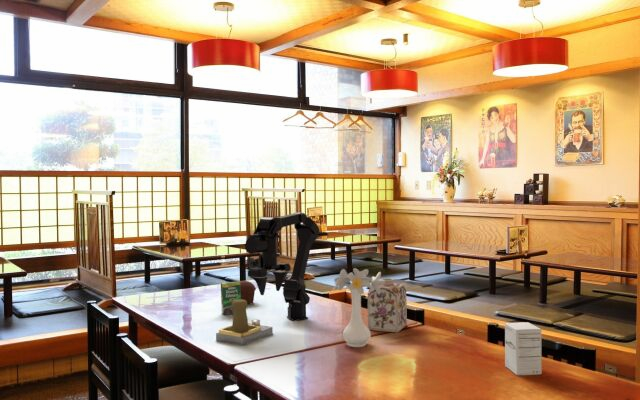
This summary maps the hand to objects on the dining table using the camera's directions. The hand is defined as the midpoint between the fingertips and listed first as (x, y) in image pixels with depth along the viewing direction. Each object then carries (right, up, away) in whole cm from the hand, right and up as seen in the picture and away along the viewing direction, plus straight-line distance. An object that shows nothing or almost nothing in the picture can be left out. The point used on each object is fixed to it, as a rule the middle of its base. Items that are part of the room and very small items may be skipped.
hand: (270, 292), depth 196 cm
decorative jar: (+43, -13, -2) cm, 45 cm away
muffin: (-16, -13, +44) cm, 49 cm away
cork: (-9, -11, -14) cm, 20 cm away
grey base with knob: (-8, -13, -12) cm, 19 cm away
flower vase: (+31, -13, -22) cm, 40 cm away
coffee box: (-18, -13, +24) cm, 33 cm away
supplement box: (+75, -13, -50) cm, 91 cm away
